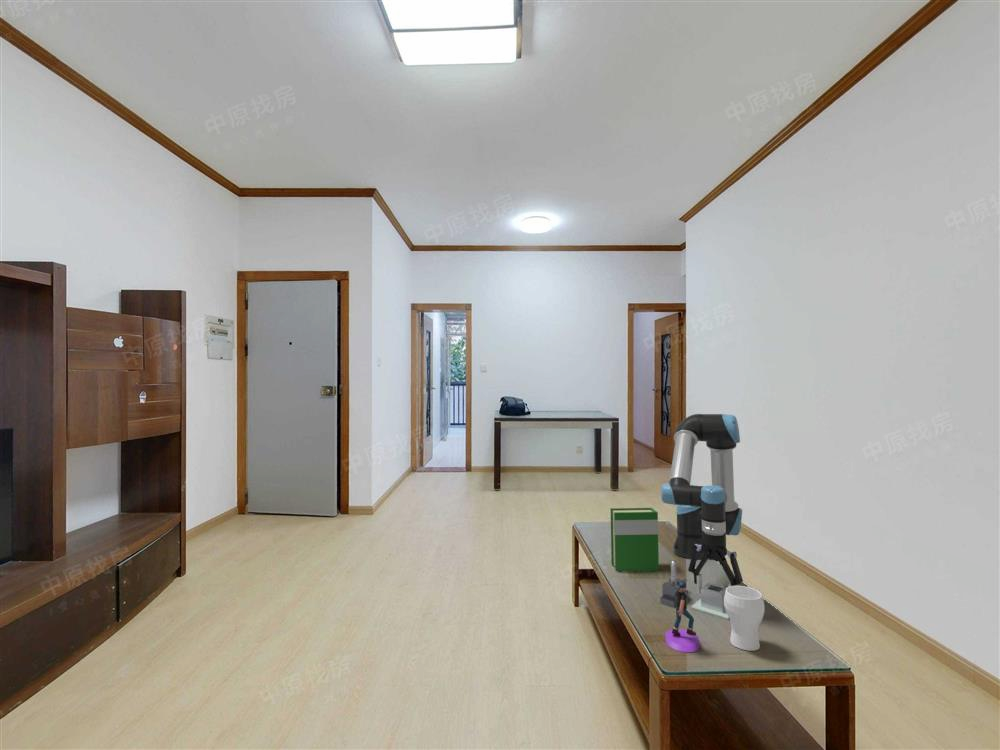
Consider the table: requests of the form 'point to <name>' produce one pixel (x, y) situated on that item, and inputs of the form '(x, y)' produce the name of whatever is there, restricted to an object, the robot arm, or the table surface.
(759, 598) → the cup
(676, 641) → the figurine
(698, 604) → the mat
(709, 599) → the grey hollow block
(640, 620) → the table surface
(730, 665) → the table surface
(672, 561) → the vise
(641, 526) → the hardback book
